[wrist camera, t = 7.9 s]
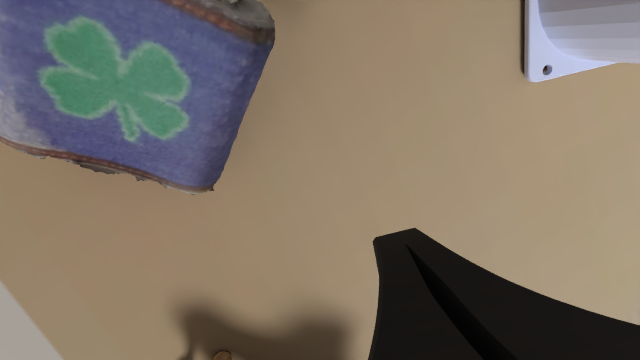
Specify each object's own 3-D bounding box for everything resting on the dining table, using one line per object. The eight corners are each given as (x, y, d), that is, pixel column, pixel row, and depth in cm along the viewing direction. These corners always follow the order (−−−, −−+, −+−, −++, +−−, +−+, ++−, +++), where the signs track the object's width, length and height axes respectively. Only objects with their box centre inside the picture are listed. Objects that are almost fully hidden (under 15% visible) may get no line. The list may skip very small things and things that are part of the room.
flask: (-21, 145, 14) (-104, -225, 7) (19, 103, 16) (-17, -214, 9) (213, 203, 17) (304, -14, 10) (221, 162, 19) (301, -41, 13)
